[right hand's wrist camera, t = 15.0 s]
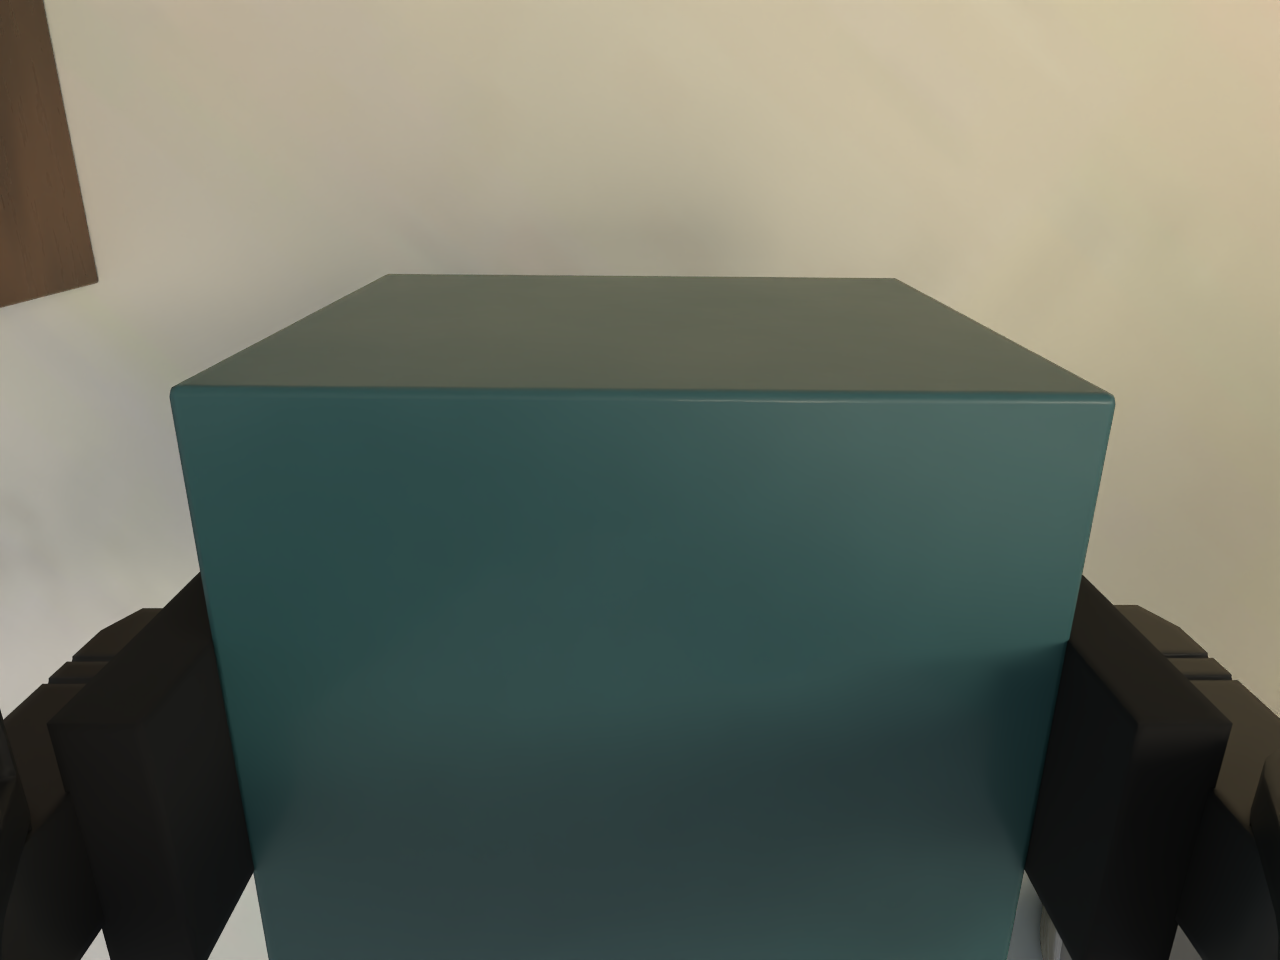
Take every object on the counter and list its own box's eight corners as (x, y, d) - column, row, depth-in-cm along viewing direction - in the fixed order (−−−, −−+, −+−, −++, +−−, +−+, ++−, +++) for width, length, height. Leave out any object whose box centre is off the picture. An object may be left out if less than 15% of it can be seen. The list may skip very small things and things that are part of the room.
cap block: (384, 273, 14) (163, 386, 8) (899, 277, 14) (1121, 394, 8) (418, 664, 17) (273, 1006, 10) (858, 667, 17) (1000, 1011, 10)
